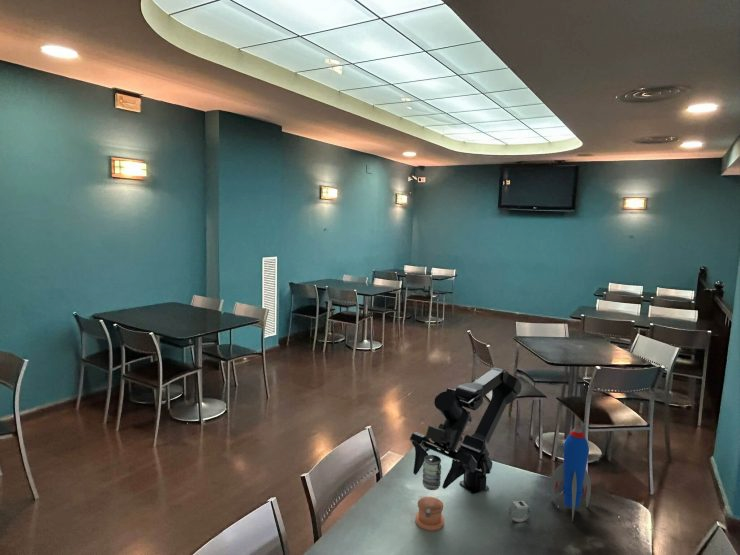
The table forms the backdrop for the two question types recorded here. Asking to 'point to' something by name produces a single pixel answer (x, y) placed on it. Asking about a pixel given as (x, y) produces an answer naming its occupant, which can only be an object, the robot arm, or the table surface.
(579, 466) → the toy rocket
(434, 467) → the grey ribbed cylinder
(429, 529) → the housing
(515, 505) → the wristwatch
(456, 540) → the table surface
